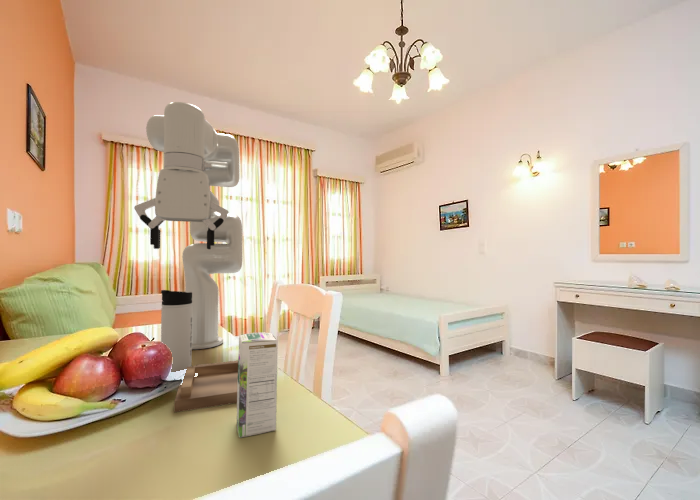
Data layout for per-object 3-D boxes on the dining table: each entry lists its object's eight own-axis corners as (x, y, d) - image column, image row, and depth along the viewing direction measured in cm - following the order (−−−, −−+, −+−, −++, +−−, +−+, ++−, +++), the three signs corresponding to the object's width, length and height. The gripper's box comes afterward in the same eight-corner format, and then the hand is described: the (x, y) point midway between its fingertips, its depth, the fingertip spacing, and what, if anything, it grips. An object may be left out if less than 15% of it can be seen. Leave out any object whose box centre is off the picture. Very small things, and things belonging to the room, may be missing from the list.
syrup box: (235, 421, 54) (236, 334, 54) (271, 414, 56) (272, 331, 57) (238, 439, 49) (239, 342, 49) (278, 430, 51) (278, 338, 52)
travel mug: (152, 379, 73) (154, 289, 73) (180, 370, 78) (181, 287, 79) (170, 384, 70) (171, 291, 70) (197, 374, 76) (198, 288, 76)
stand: (182, 383, 70) (183, 365, 70) (250, 375, 75) (250, 358, 75) (174, 412, 57) (174, 390, 57) (256, 399, 62) (256, 379, 62)
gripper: (228, 174, 74) (227, 249, 74) (139, 166, 67) (138, 248, 67) (229, 166, 67) (228, 249, 67) (130, 156, 61) (129, 248, 61)
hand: (183, 248), depth 67 cm, fingers open, 9 cm apart
